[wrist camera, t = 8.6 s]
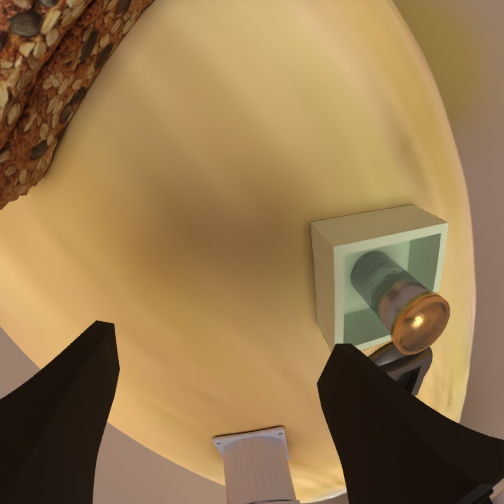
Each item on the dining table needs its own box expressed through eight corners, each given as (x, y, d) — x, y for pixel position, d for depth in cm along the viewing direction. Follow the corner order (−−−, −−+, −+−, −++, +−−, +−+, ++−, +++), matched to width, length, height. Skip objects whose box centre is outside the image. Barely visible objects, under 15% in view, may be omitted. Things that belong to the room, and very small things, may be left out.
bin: (405, 297, 22) (431, 325, 18) (316, 322, 22) (334, 358, 18) (412, 204, 19) (448, 222, 15) (310, 222, 18) (333, 246, 15)
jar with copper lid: (397, 248, 19) (458, 295, 13) (386, 293, 21) (435, 349, 14) (353, 247, 19) (410, 301, 12) (343, 296, 20) (388, 359, 14)
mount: (417, 385, 28) (425, 397, 26) (343, 412, 28) (349, 427, 26) (436, 324, 24) (448, 337, 22) (350, 355, 24) (359, 371, 22)
